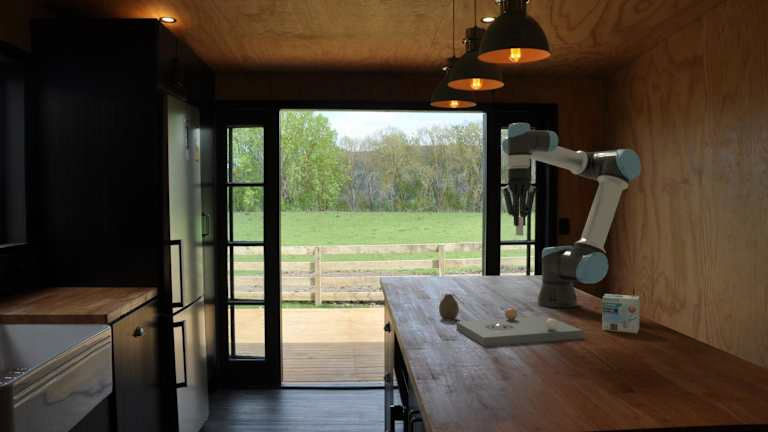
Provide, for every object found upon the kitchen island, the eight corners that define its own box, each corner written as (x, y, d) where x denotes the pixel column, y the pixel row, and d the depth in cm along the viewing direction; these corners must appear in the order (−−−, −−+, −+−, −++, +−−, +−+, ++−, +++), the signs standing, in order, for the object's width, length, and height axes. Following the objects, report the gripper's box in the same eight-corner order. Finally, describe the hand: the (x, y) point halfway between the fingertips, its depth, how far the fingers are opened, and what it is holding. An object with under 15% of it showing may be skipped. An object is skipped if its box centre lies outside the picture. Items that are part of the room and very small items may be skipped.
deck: (546, 323, 193) (546, 315, 193) (582, 338, 172) (582, 330, 172) (456, 329, 186) (456, 321, 186) (483, 346, 164) (483, 337, 164)
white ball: (553, 328, 174) (553, 317, 174) (559, 331, 171) (559, 319, 170) (543, 329, 173) (543, 318, 173) (549, 332, 170) (549, 320, 170)
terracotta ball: (513, 318, 190) (513, 306, 190) (519, 320, 186) (519, 308, 186) (502, 319, 189) (502, 307, 189) (508, 321, 185) (508, 309, 185)
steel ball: (499, 321, 179) (489, 325, 178) (504, 323, 176) (494, 327, 175) (502, 331, 179) (493, 335, 179) (507, 334, 176) (498, 338, 175)
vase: (452, 322, 197) (452, 296, 197) (435, 319, 201) (435, 295, 201) (462, 318, 203) (462, 294, 202) (445, 316, 207) (445, 292, 207)
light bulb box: (601, 330, 182) (601, 296, 182) (604, 326, 188) (604, 293, 188) (638, 333, 177) (638, 298, 177) (639, 329, 183) (639, 295, 183)
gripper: (531, 168, 204) (531, 234, 205) (497, 168, 201) (497, 235, 202) (541, 167, 197) (541, 235, 198) (506, 167, 194) (507, 236, 195)
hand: (519, 235), depth 200 cm, fingers closed
